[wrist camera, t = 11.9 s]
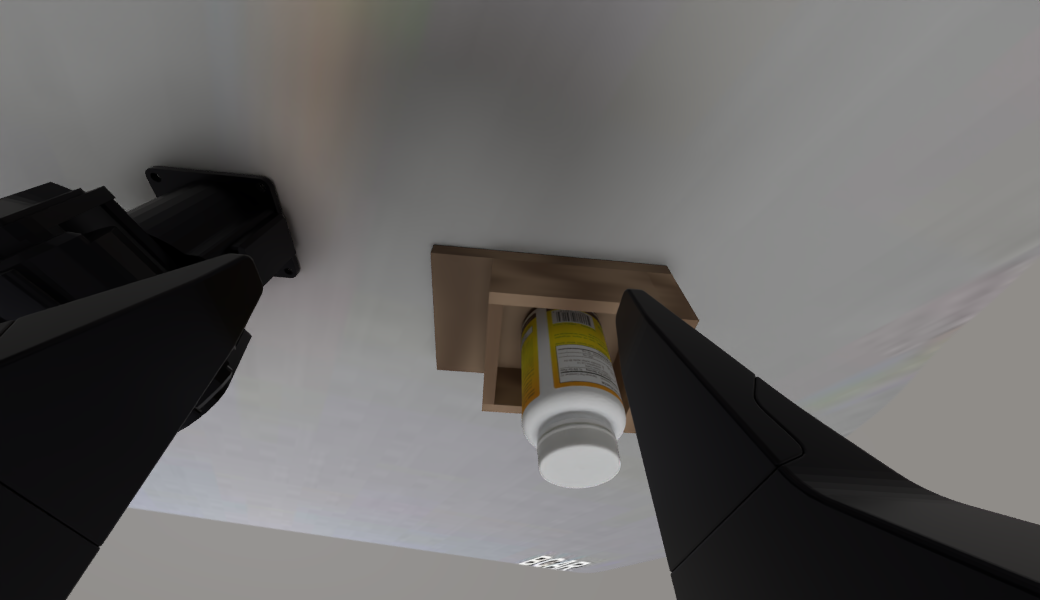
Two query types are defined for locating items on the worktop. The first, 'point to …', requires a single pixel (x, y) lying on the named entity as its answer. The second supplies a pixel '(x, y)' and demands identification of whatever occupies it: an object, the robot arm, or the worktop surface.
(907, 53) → the worktop surface
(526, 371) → the supplement bottle
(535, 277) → the open wooden box
